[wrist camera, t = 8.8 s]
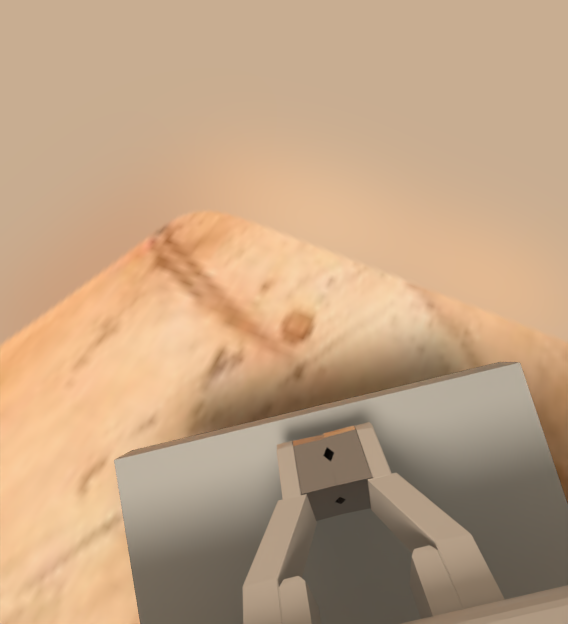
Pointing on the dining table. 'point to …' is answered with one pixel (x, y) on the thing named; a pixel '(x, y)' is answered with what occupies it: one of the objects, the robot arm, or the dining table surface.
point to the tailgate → (355, 525)
